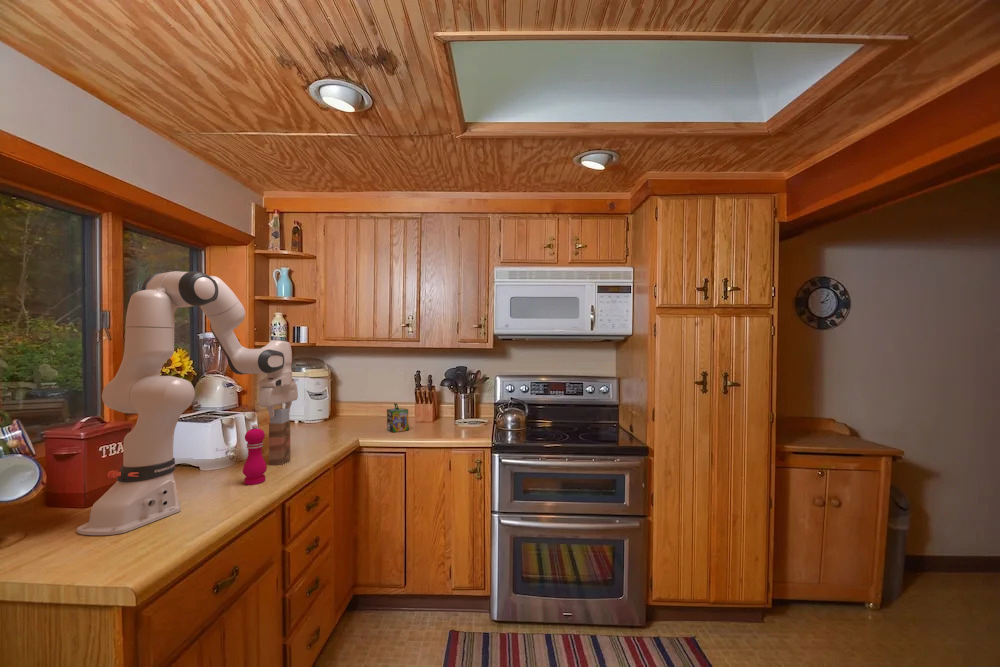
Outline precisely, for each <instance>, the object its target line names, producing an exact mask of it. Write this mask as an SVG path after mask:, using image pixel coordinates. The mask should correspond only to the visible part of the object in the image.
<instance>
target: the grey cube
mask: <svg viewBox="0 0 1000 667" xmlns="http://www.w3.org/2000/svg"><path fill="white" fill-rule="evenodd" d="M273 409H274V412H276V414H275V415H276V416H275V417H269V423H285V422H288V421H290V412H289V409H285V408H273Z"/></svg>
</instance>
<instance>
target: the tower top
mask: <svg viewBox="0 0 1000 667" xmlns="http://www.w3.org/2000/svg"><path fill="white" fill-rule="evenodd" d="M287 435H290V436H291V420H289V421H288V422H285V423H270V422H269V423H268V438H269V437H285V436H287Z"/></svg>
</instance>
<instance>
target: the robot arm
mask: <svg viewBox="0 0 1000 667" xmlns="http://www.w3.org/2000/svg"><path fill="white" fill-rule="evenodd" d="M191 307H199V308H200V309H201V310H202V312H203V314H204V315H205V316H206V318H207V319H208V320H209V328H210V331H211V333H212V335H213V336H214V339H215V340H216V342H217V343H218V345H219V347H220V348H221V351H223V353H224V355H225V358H226V361H227V362H228V366H229V369H230V370H231V371H232V372H233V373H234V374H236V375H241V376H243V375H259V374H260V375H262V374H263V375H265V374H266V376H265V377H264V378H263V379H261V380H259V381H258V387H260V388H259V390H258V403H259V406H260V407H262V408H266V410H267V412H268V417H269V418H270V417H275V416H276V415H275V414H276V412H274V409H275V406H278V405H282V404H285V406H284V409H289V413H290V412H291V406H292V403H293V402H294V401H297V400H298V398H299V395H298V385H297V383H296V381H295V380H294V378H293V370H292V363H293V353H292V352H293V351H292V346H291V343H290V342H289V341H287V340H284V339H283V340H282V339H271V340H269V341H268V343H267V344H266V345H264V346H263V347H260V348H248V347H245V346H243V345H242V344H241V343H240V341H239V339H238V337H237V336H236V334H235V332H234V330H236V329H237V328H238V327H239V326H240V325H241V324H242V323H243V322H244V320H245V318H246V310H245V307H244V305H243V304H242V302H241V301H240V299H239V297H237V295H236V294H235V293H234V291H233V290H232V289H231V288H230V286H228V285H227V284H226V283H225V282H224V281H223V280H222V279H221V278H220V277H218V276H215V275H208V274H206V273H204V272H200V271H180V270H179V271H178V270H177V271H176V270H174V271H167V272H158V273H155V274H152V275H150V276H148V277H147V278H145V280H144V281H143V283H142V286H141V289H140V290H137V291H136V292H134V293H133V294H131V296H130V299H129V302H128V305H127V310H126V314H125V315H126V316H125V329H124V330H125V331H124V332H125V334H124V351H123V357H122V360H121V363H120V365H119V368H118V370H117V372H116V374H115V376H114V377H113V378H112V380H109V382H108V383H107V384H106V385H105V386H104V388H103V389H102V391H101V392H102V393H101V400H102V402H103V404H104V405H105V406H106V408H109V409H111V410H113V411H117V412H120V413H124V414H138V416H137V420H136V423H135V425H134V427H133V428H132V430H131V431H129V432H128V433H127V434H126V435H125V436H124V438H123V450H122V451H123V456H122V457H123V458H122V459H123V464H122V465H121V467H120V469H119V470H110V471H108V473H107V476H106V477H107V478H108V479H116V482H115V483H114V484H113V485H112V486H111V487H110V488H109V489H107V491H106V492H105V493H103V495H102V496H101V497H99V499H97V500H96V501H95V502H93V505H92V506H91V509H90V513H89V518H88V520H89V521H87V522H85V523H84V524H82V525H80V526H77V528H76V533H77V534H78V535H79V534H80V535H84V536H111V535H119V534H124V533H127V532H131V531H133V530H136V529H139V528H140V527H143V526H145V525H146V526H147V525H148V524H151V523H153V522H156V521H158V520H161V519H164V518H166V517H169V516H171V515H174V514H177V513H179V512H181V510H182V509H181V502H180V501H179V498H178V491H177V484H176V479H175V475H174V471H176V461H175V460H176V459H175V457H174V436H175V430H176V427H177V424H178V421H179V419H180V418H181V415H182V414H183V413H184V412H185V411H186V410H187V409H188V408H190V406H191V405H192V404H193V402H194V399H195V395H196V392H195V387H194V386H193V384H192V383H191V382H190V381H189V380H188V379H185V378H181V377H177V376H173V375H160V374H161V371H162V368H163V366H164V365H165V363H166V362H167V361H168V360H169V359H171V358H172V357H173V355H174V353H175V328H176V327H175V326H176V325H175V313H176V311H177V309H178V308H191Z"/></svg>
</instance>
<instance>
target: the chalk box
mask: <svg viewBox="0 0 1000 667" xmlns="http://www.w3.org/2000/svg"><path fill="white" fill-rule="evenodd" d="M393 405H394V408H388V409H386V428H387V431H389V432H390V433H392V434H395V433H399V432H406V431H407V432H408V431H409V430H410V429H409V425H410V422H409V409H408V408H406V407H399V405H398V403H396V402H394V403H393Z"/></svg>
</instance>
